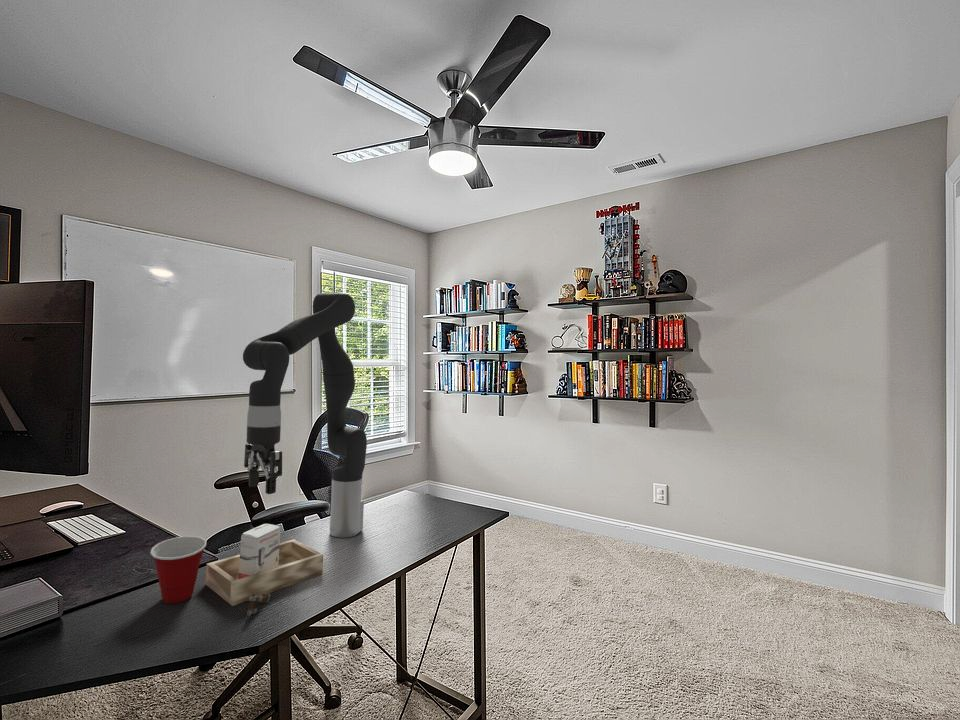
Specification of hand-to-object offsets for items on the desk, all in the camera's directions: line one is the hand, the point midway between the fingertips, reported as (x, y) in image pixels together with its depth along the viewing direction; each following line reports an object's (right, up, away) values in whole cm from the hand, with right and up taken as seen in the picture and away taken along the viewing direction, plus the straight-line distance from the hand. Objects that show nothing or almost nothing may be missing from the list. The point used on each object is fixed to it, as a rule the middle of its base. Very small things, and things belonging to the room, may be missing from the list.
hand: (261, 489), depth 119 cm
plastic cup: (-15, -22, -9) cm, 28 cm away
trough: (0, -23, +2) cm, 23 cm away
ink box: (-1, -22, 0) cm, 22 cm away
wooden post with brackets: (+5, -23, -12) cm, 27 cm away
